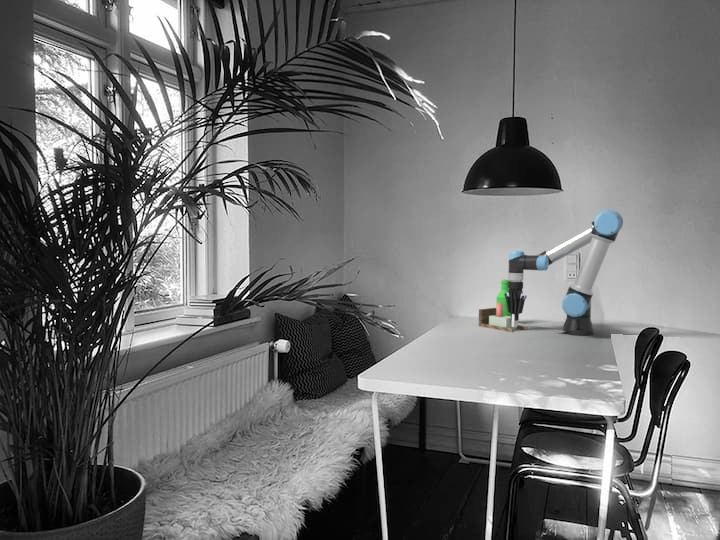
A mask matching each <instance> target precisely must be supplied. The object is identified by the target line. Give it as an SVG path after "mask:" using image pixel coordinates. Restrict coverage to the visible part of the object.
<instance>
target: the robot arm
mask: <svg viewBox="0 0 720 540" xmlns="http://www.w3.org/2000/svg"><path fill="white" fill-rule="evenodd" d="M623 223H624V220H623V217H622V215H621V214H619V212H617V211H614V210H610V209H607V210H603V211H601V212H599V213H598V214H597V215H596V217H595V218H594V220H593V221H592V222H590V225H589V226H587V227H584V228H583V229H581V230H579V231H578V232H576V233H574V234H573V235H570V237H568V238H565V239H564V240H562V241H560V242H558V243H557V244H555V245H553V246H551V247H549V248H547V249H546V250H544V251H542V252H541V253H538V254H536V255H534V254H533V255H532V254H530V255H529V254H525V252H524V251H523V250H510V252H509V254H508V272H507V273H508V276H507V278H508V279H507V280H509V282H508V288H509V290H508V293H506V294H504V295H505V298H506V303H507V309H508V312H510V313H511V320H512V327H517V325H518V321H519V315H520V314H523V311H524V306H525V301H526V299H527V295H526V294H524V292H523V289H524V282H523V281H524V270H525V271H526V270H527V271H539V272H540V271H541V272H542V271H547V270H548V268H549V266H550V265H552V264H554V263H556V262H558V261H559V260H561V259H563V258H565V257H566V256H569V255H570V254H572V253H574V252H576V251H578V250H580V249H581V248H583V247H585V246H587V245H588V244H589V245H588V247H587V250H586V252H585V253H586V254H585V255H584V257H583V261H582V263H581V265H580V268H579V271H578V273H577V275H576V278H575V280H574V283H573V284H571V285H569V287H568V289H567V290H566V294H565V296H564V297H563V298H562V302H561V307H562V310H563V312H564V313H565V314H566V318H565V321H564V324H563V327H562V333H563V334H566V335H573V336H593V335H594V334H595V330H594V326H593V322H592V319H591V317H592V316H591V314H592V298H593V295H594V294H593V291H592V289H593V286H594V285H595V282H596V279H597V277H598V275H599V272H600V270H601V267H602V265H603V263H604V260H605V257H606V255H607V252H608V250H609V248H610V245H611V244H613V243H615V242H616V239H617V237H618V234H619V232H620V230H621V229H622V227H623Z"/></svg>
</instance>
